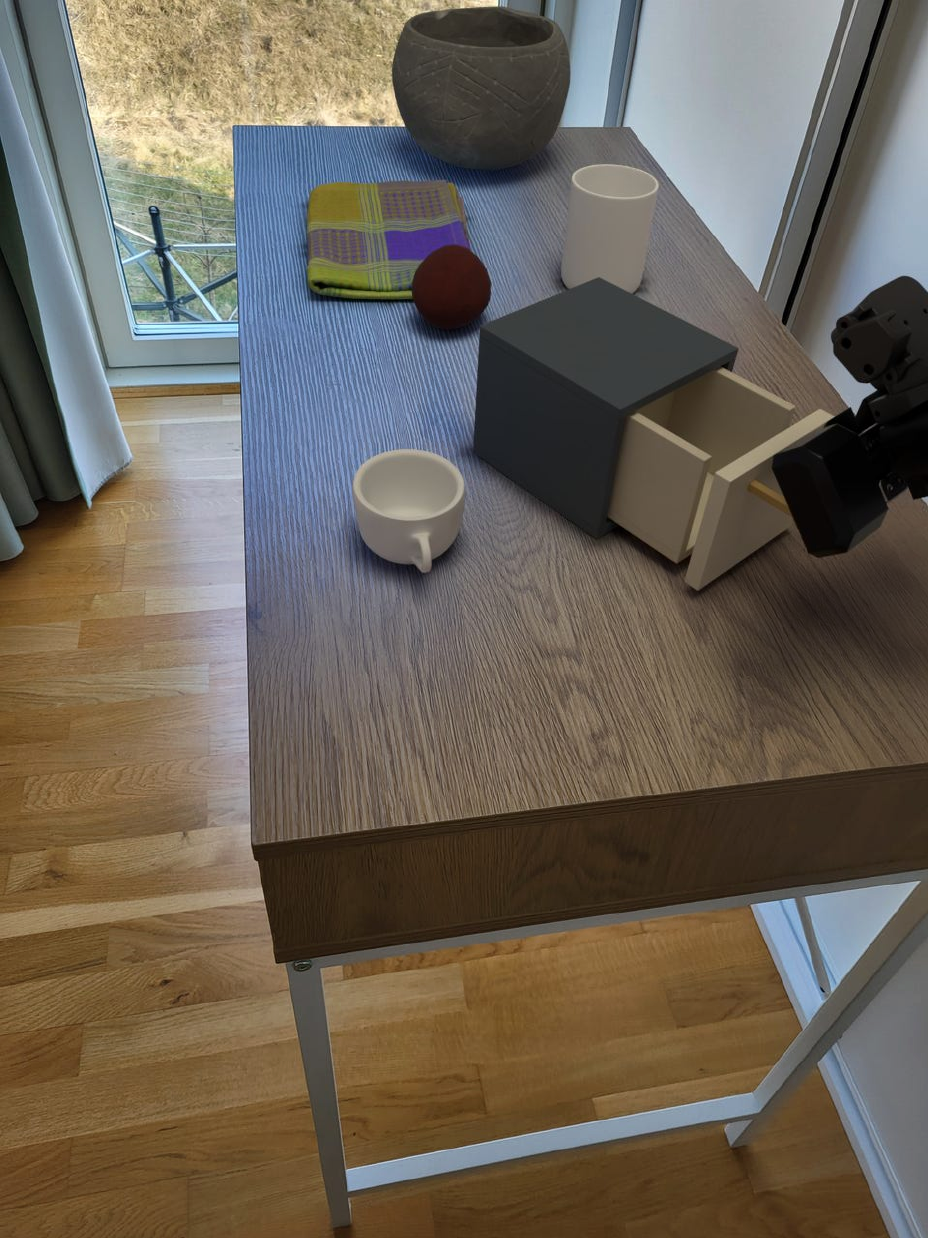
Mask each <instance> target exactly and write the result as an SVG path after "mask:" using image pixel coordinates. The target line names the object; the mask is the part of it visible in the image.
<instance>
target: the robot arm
mask: <svg viewBox="0 0 928 1238" xmlns="http://www.w3.org/2000/svg"><path fill="white" fill-rule="evenodd" d="M830 341H831V343H832V353H833V355H834V357H835V358H836V359H837V361H839V363H840V364H841V365H842V367H844V368H845V369H846V371H847V372H848V373H849V375H851V377H852V378H853V379H854V380H855V381H856V382H857V383H859V384H865V385H866V384H867V385H868V384H870V385H871V386H872V388H874V389H875V390H874V391H873V392H871V393H869V395H867V396H865V397H864V398H863V399H862V400H861V402H860V405H859V406H858V408H857V411H856V414H855V413H854V411H853V409H852V407H851V406H850V407H847V408H846V409H844V410H843V411H841V412H840V413H838V414H837V415H834V417H833V418H832V419H830V420H829V421H827V422H826V424H825V425H824V427H823V428H822V429H819V430H817V431H815V432H813V433H811V434H808V435H806V436H804V437H802V438H800V439H798V440H797V441H795V442H794V443H792V444H790V445H789V446H787V447H786V448H784V449H782V450H781V451H779V452H778V453H776V454H775V455H774V456H773V463H772V470H773V473H774V475H775V477H776V480H777V482H778V484H779V487H780V489H781V491H782V494H783V496H784V498H785V501H786V503H787V505H788V507H789V510H790V512H791V514H792V517H793V519H794V521H795V524H796V526H797V528H798V529H797V528H796V529H797V530H798V533H799V535H800V538H801V540H802V541H803V545H804V547H805V549H806V551H807V552H806V553H807V554H808V555H810V556H813V557H814V558H816V559H822V558H827V557H832V556H838V555H843V554H846V553H848V552H850V551H851V550H852V549H854V548H855V547H857V545H859V544H860V543H861V542H863V541H864V540H866V539H867V538H868V537H869V536H871V535H872V534H873V533H875V532H876V531H877V530H878V529H881V527H882V525H883V522H884V520H885V518H886V516H887V513H888V511H889V506H888V504H889V503H892V502H894V501H895V500H896V499H897V498H898V497H900V496H901V495H903V494H904V493H905V492H907V490H909V494H910V496H911V498H912V500H913V501H915V500H919V499H923V498H927V497H928V290H927V289H926V288H925V287H924V286H923V284H921V282H919V281H918V280H917V279H916V278H914V277H912V276H909V275H901V276H898V277H896V278H894V279H892V280H891V281H889V282H886V283H885V284H883V285H881V286H879V287H877V288H875V289H874V290H872V291H870V292H869V293H868V294H867V295H866V296H865V297H864V298H863V299H862V301H860V302H859V303H858V304H857V305H856V306H855V307H854V308H853V310H851V311H849V312H848V313H846V314H844V315H842V316H840V317H838V318H837V320H836V321H835V328H834V329H833V330H832V331H831V332H830Z"/></svg>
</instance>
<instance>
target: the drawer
mask: <svg viewBox="0 0 928 1238" xmlns="http://www.w3.org/2000/svg"><path fill="white" fill-rule="evenodd" d="M796 408H797V406H796V405H795V404H792V403H791V402H789V401H787V400H785V399H783V398H782V397H780V396H777V395H776V394H774V393H772V392H770V391H768V390H767V389H764V388H762V387H761V386H759V385H756V384H755V383H753V382H751V381H749V380H747V379H745V378H743V377H742V376H739V375H738V374H735V373H734V372H733V371H732V372H730V371H728V370H726V369H724V368H723V367H721V366H720V367H718V368H716V369H714V370H712V371H710V372H708V373H707V374H705V375H703V376H701V377H699V378H697V379H695V380H693V381H691V382H689V383H688V384H686V385H684V386H682V387H680V388H678V389H676V390H674V391H672V392H670V393H669V394H667V395H665V396H663V397H661V398H659V399H657V400H655V401H653V402H651V403H650V404H648V405H646V406H644V407H642V408H640V409H638V410H636V411H634V412H632V413H631V414H629V415H627V416H626V420H625V425H624V431H623V436H622V441H621V446H620V452H619V457H618V462H617V468H616V473H615V478H614V483H613V489H612V494H611V499H610V504H609V510H608V515H607V517H609V518H610V519H612V520H613V521H614V522H616V523H617V524H619V526H620V527H622V528H623V529H624V530H626V531H628V532H629V533H631V534H632V535H634V536H635V537H637V538H638V539H640V540H641V541H643V542H644V543H645V544H647V545H648V546H649V547H651V548H653V550H656V551H657V552H658V553H660V554H661V555H663V556H664V557H666V558H667V559H669V560H670V561H671V562H674V564H678V563H681V561H683V560H684V559H686V558H688V557H689V556H690V560H689V564H688V567H687V571H686V574H685V577H684V583H685V584H687V585H688V586H690V587H691V588H693V589H694V590H695V591H700V590H701V589H703V588H704V587H706V586H707V585H708V584H710V583H711V582H712V581H713V582H714V580H716V579H717V578H719V577H720V576H722V575H723V574H724V573H726V572H727V571H728V570H730V569H731V568H733V567H734V566H736V565H737V564H738V563H740V562H741V561H743V560H744V559H746V558H747V557H748V556H750V555H751V554H753V553H754V552H756V551H757V550H759V549H760V548H761V547H763V546H764V545H766V544H767V543H768V542H770V541H772V540H773V539H774V538H776V537H777V536H779V535H780V534H781V533H783V532H784V531H786V530H787V529H789V528H790V527H792V526H793V525H794V527H795V528H796V529H797V530H798V528H797V526H796V524H795V521H794V519H793V517H792V514H791V512H790V510H789V507H788V505H787V503H786V501H785V498H784V496H783V494H782V491H781V489H780V487H779V484H778V482H777V480H776V477H775V475H774V473H773V470H772V463H773V456H774V455H775V454H776V453H778V452H779V451H781V450H782V449H784V448H786V447H787V446H789V445H790V444H792V443H794V442H795V441H797V440H798V439H800V438H802V437H804V436H806V435H808V434H811V433H813V432H815V431H817V430H819V429H822V428H823V427H824V425H825V424H826V422H827V421H829V420H830V419H832V418H833V417H835V415H833V414H831V413H829V412H827V411H826V410H823V409H821V408H819V409H817V410H815V411H814V412H812V413H811V414H809V415H807V416H805V417H804V418H802V419H801V420H799V421H797V422H795V423H794V424H792V425H791V422H792V420H793V417H794V414H795V411H796Z"/></svg>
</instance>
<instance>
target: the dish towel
mask: <svg viewBox="0 0 928 1238" xmlns="http://www.w3.org/2000/svg"><path fill="white" fill-rule="evenodd" d="M306 215H307V217H306V246H307V264H306V265H307V266H306V274H307V285H308V287H309V289H310V290H311V291H313V292H314V293H317V295H322V296H326V297H327V296H328V297H334V298H335V297H336V298H342V299H353V300H354V299H359V300H413V298H412V291H411V286H412V280H413V277H414V274H415V271H416V270H417V268H418V266H419V265H420V264H421V263H422V262H423V261H424V259H425V258H426V257H427V256H428V255H429V254H431V253H432V252H433V251H435V250H437V249H439V248H441V247H443V246H446V245H454V244H456V245H460V246H463V247H466V248H468V249H469V250H470V251H471V247H470V246H471V245H470V237H469V232H468V227H467V218H466V211H465V207H464V198H463V197H461V194H460V190H459V189H458V188H456V186H455V184H454V183H453V182H447V180H446V179H436V180H417V181H416V180H388V181H387V180H386V181H380V182H379V181H377V182H352V181H351V182H350V181H334V182H326V183H322V184H320V185H317V186H315V187H314V188H312V190H311V191H310V192H309V195H308V202H307V213H306Z"/></svg>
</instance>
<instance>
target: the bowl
mask: <svg viewBox="0 0 928 1238" xmlns="http://www.w3.org/2000/svg"><path fill="white" fill-rule="evenodd" d="M571 73H572V72H571V60H570V52H569V47H568V43H567V40H566V37H565V35H564V33H563V30H562V29H561V27H560V26H559V24H558V23H557V22H556V21H555V20H553V19H551V18H548V17H546V16H544V15H543V16H542V15H540V14H537V13H534V12H528V11H522V10H518V9H515V8H511V7H507V6H503V5H500V6H499V5H498V6H497V5H496V6H478V7H477V6H476V7H474V6H473V7H460V8H447V9H442V10H431V11H426V12H421V13H418V14H415V15H413V16H412V17H410V18H409V19H408V20H406V22H405V23H404V26H403V27H402V31H401V32H400V35H399V38H398V41H397V43H396V46H395V51H394V54H393V58H392V66H391V81H392V87H393V94H394V98H395V101H396V106H397V108H398V112H399V115H400V117H401V120H402V122H403V124H404V127H405V129H406V130H407V132H408V133H409V135H410V137H411V138H412V139H413V140H414V142H416V144H417V145H418V146H419V147H420V148H421V149H422V150H424V151H425V152H426V153H427V154H429V155H430V156H432V158H433V157H434V158H436V159H437V160H440V161H442V162H444V163H445V164H446V163H447V164H449V165H451V166H455V167H459V168H464V169H468V170H477V171H499V170H504V169H509V168H512V167H515V166H518V165H521V164H523V163H526V162H527V161H529V160H531V159H532V158H533V157H535V156H536V155H538V154H539V153H540V152H541V151H542V150H543V149H544V148H546V146H548V144H549V143H550V141H551V140H552V139H553V137H554V136H555V134H556V132H557V131H558V127H559V125H560V122H561V119H562V116H563V114H564V111H565V107H566V103H567V99H568V94H569V91H570V85H571Z"/></svg>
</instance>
